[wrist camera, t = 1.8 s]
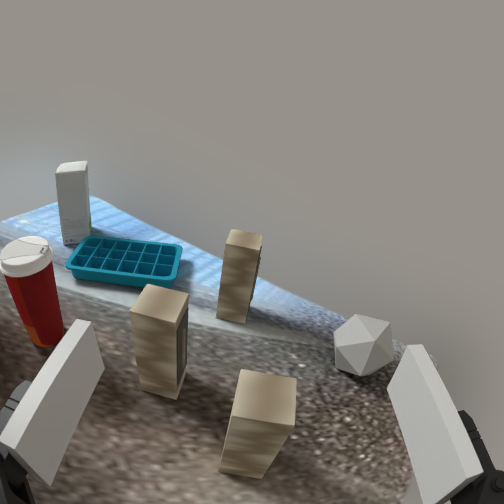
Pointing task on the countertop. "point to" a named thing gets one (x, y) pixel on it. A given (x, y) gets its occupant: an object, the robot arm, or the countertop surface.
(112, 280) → the ice cube tray
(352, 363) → the die
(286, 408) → the post
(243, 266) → the post
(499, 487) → the robot arm
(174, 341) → the post
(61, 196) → the skincare box
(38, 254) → the paper cup
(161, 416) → the countertop surface
